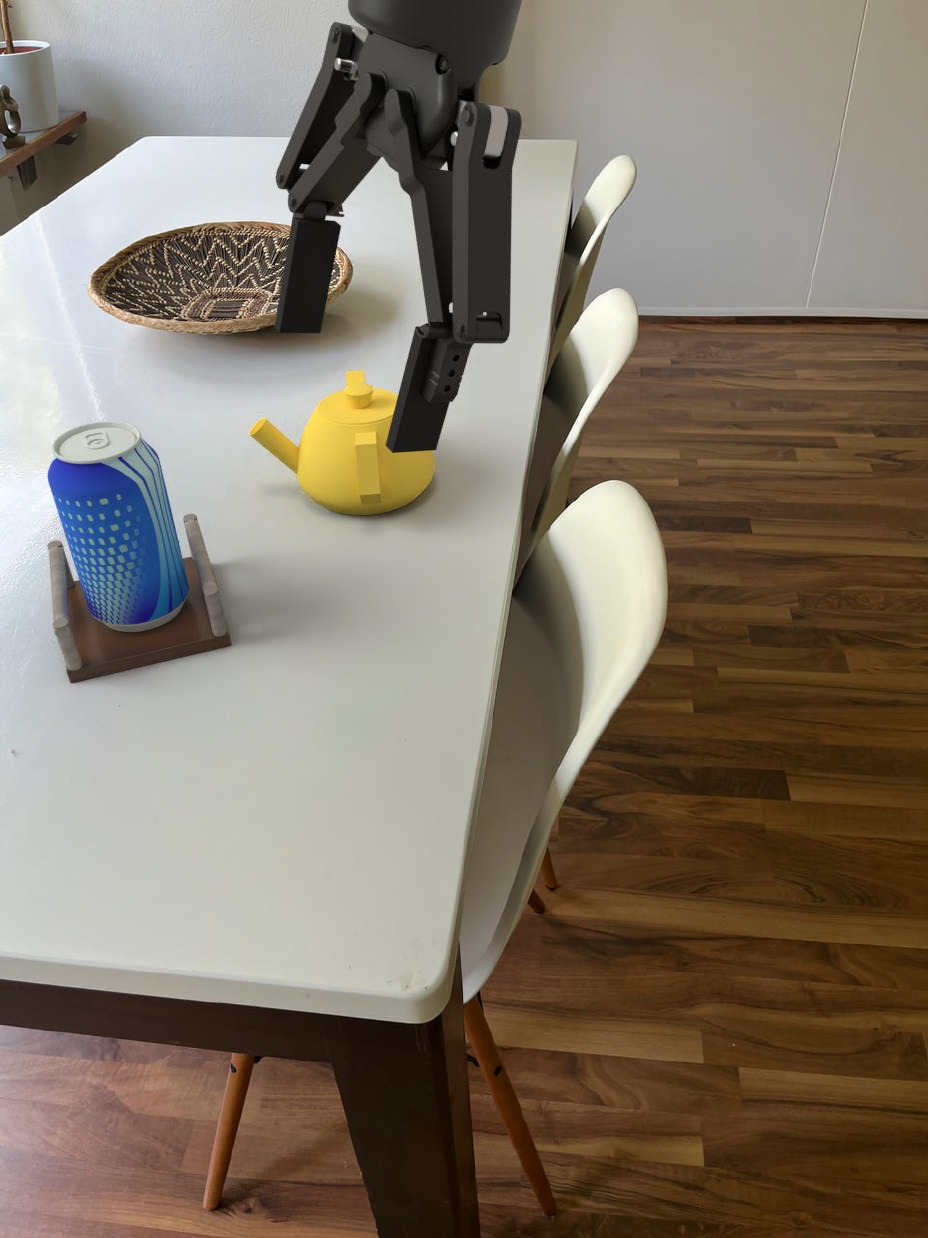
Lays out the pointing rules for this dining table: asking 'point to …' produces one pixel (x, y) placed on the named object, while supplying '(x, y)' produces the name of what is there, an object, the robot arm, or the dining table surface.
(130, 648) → the rail rack
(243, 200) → the dining table surface
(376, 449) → the teapot
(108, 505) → the beer can
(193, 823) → the dining table surface
